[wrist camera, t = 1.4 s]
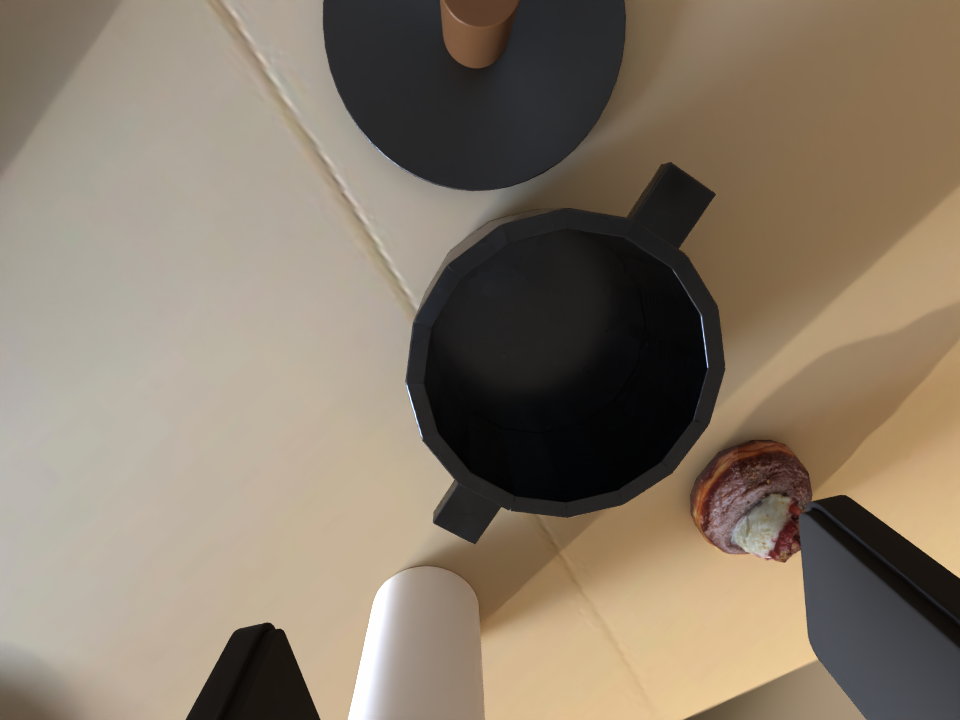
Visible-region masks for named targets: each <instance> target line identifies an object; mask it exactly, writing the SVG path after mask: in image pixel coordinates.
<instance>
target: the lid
mask: <svg viewBox="0 0 960 720" xmlns="http://www.w3.org/2000/svg"><path fill="white" fill-rule="evenodd" d="M625 24H626V14H625V2H624V0H324V2H323V30H324V40H325V49H326V53H327V58H328V62H329V67H330V71H331V74H332V76H333V79H334V82H335V85H336V88H337V91H338V93H339V95H340V97H341V99H342V101H343V103H344V105H345V107H346V109H347V111H348V113H349V114H350V116H351V117H352V119H353V120H354V122H355V123H356V125H357V126H358V128H359V129H360V130H361V132H362V133H363V134H364V135H365V136H366V138H367V139H368V140H369V141H370V142H371V144H373V145H374V146H375V147H376V148H377V149H378V150H379V151H380V152H381V153H382V154H383V155H384V156H385V157H386V158H388V159H389V160H391V161H392V162H393V163H395V164H396V165H397V166H399V167H400V168H402V169H403V170H405V171H407V172H408V173H410V174H412V175H414V176H416V177H418V178H420V179H422V180H425V181H427V182H430V183H433V184H435V185H438V186H443V187H447V188H451V189H457V190H467V191H485V190H495V189H500V188H506V187H510V186H513V185H516V184H519V183H522V182H526V181H528V180H530V179H532V178H534V177H536V176H538V175H540V174H542V173H544V172H546V171H547V170H549V169H550V168H552V167H553V166H555V165H556V164H558V163H559V162H561V161H562V160H563V159H564V158H565V157H566V156H568V155H569V154H570V153H571V152H572V151H573V150H574V149H575V148H576V147H577V146H578V145H579V144H580V143H581V142H582V141H583V140H584V138H585V137H586V136H587V135H588V134H589V132H590V131H591V129H592V128H593V127H594V125H595V124H596V122H597V121H598V119H599V118H600V116H601V114H602V112H603V110H604V108H605V107H606V105H607V103H608V101H609V99H610V96H611V94H612V91H613V88H614V86H615V83H616V81H617V77H618V73H619V69H620V66H621V62H622V56H623V49H624V43H625Z"/></svg>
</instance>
